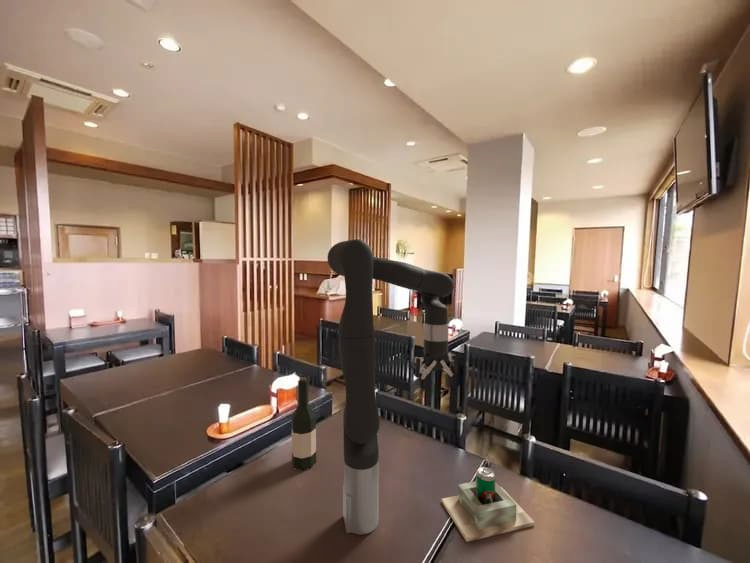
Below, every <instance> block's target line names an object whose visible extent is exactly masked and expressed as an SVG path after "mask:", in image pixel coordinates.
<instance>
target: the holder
mask: <svg viewBox="0 0 750 563" xmlns="http://www.w3.org/2000/svg"><path fill="white" fill-rule="evenodd" d="M457 488H458V489H457V495H454V496H453V495H452V496H449V497H444V498H443V497H442V498H441V500H440V502H441V503H442V505H443V507H444V508H445V510H446V511H447V513H448V515H449V516H450V518H451V519H452V521H453V523H454V525H456V527H457V529H458V530H459V532H460V534H461V535H462V537H463V538H464V540H465V542H466V543H467V542H472V541H475V540H481V539H485V538H489V537H493V536H497V535H501V534H505V533H506V534H507V533H510V532H513V531H517V530H522V529H526V528H530V527H535V521H534V520H533V518H531V516H530V515H528V514H527V512H526V511H525V510H524V509H523V508H522V507H521V506H520V505H519V503H518V502H517V501H516V500H515V499H514V498H512V497H511V495H509V493H508V492H507V491H506V490H505V489H504V488H503V487H502V486H500V485H499V484H498V483H497V482H496V487H495V502H494V503H490V504H485V505H482V504H481V503H480V501H479V500H478V499H477V498H476V480H475V481H470V482H464V483H460V484H458V485H457Z"/></svg>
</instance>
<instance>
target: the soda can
mask: <svg viewBox="0 0 750 563" xmlns="http://www.w3.org/2000/svg"><path fill="white" fill-rule="evenodd" d="M475 475H476V478H475V481H476V498H477V499H478V500H479V501H480V503H481V504H482V505H485V504H490V503H494V502H495V487H496V483H497V482H496V477H497V476H496V474H495V472H494V470H493V469H491V468H489V467H486V466H481V467H479V468H478V469H477V471H476V474H475Z"/></svg>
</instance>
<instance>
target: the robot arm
mask: <svg viewBox="0 0 750 563" xmlns="http://www.w3.org/2000/svg"><path fill="white" fill-rule="evenodd" d="M327 265H328V266H329V268H330V269H331V271H333V272H334V273H335V274H337V275H339V276H342V277H344V286H345V287H344V288H345V300H344V301H345V302H344V306H343V309H342V312H341V316H340V319H339V323H338V334H337V335H338V348H339V357H340V364H341V370H342V375H343V380H344V387H345V405H344V409H343V413H342V417H343V420H342V421H343V478H344V479H343V482H342V517H343V521H344V522H343V523H344V528H345V531H346V534H349V533H352V534H353V535H360V536H361V535H362V536H363V535H367V534H371V533H372V532H374V530H375V529H377V527H378V525H379V521H380V520H379V517H380V516H379V515H380V512H379V509H380V508H379V505H380V504H379V503H380V502H379V501H380V500H379V498H380V497H379V496H380V495H379V494H380V492H379V484H380V483H379V481H380V479H379V478H380V476H379V471H380V470H379V469H380V468H379V460H380V459H379V458H380V456H379V454H380V453H379V442H378V433H379V430H380V426H381V419H380V415H379V414H380V413H379V410H378V404H377V397H376V396H377V395H376V388H375V387H376V386H375V383H376V382H375V380H376V340H375V327H374V326H375V325H374V308H373V306H374V305H373V283H374V282H373V281H374V280H377V281H381V282H384V283H386V284H390V285H394V286H397V287H400V288H404V289H407V290H411V291H418V292H420V296H421V300H422V304H423V309H424V327H423V335H422V336H423V355H422V356H421V357H418V356H414V357H413V364H412V366H413V367H412V374H413V376H414V377H415V378H418V387H419V389H420V390H421V391H422V392H423V391H426V379H425V378H426V377H427V375H429V374H430V373H431V372H432V371H434V372H435V371H442V370H443V371H444V373H445V374H444V376H445V378H444V384H445V385H444V386H445V387H446V388H447V389H451V387H452V385H453V382H452V381H453V376H454V375H457V374H458V373H459V368H458V367H459V364H458V361H459V360H458V356H457V355H456V354H454V353H451V354H448V352H449V327H448V326H449V325H448V323H449V322H448V316H449V315H448V313H449V310H448V307H447V306H446V304H443V303H442V302H441V301H440V298H445V297H448V296H449V295H450V294H451V293H452V292H453V290H454V287H455V285H454V281H453V279H452V277H451V276H450V275H448V274H446V273H443V272H439V271H436V270H435V271H434V270H430V269H424V268H422V267H419V266H417V265H413V264H411V263H407V262H403V261H399V260H398V261H397V260H392V259H386V258H381V257H377V256H375V255H374V254H373V252H372V248H371V247H370V245H369V244H368V242H366V241H365V240H363V239H358V238H357V239H350V240H343V241H339V242H337V243H335V244H334V245H333V246H331V248H330V249H329V251H328V254H327ZM448 362H450V367H449V366H448V365H447V363H448ZM422 363H424V364H423V365H422ZM421 365H422V366H421Z"/></svg>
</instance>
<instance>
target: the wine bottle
mask: <svg viewBox="0 0 750 563" xmlns="http://www.w3.org/2000/svg"><path fill="white" fill-rule="evenodd" d="M297 392H298V394H297V397H298V399H297V400H298V401H297V402H298V403H297V404H298V405H297V406H296V408H295V409H294V411H293V413H292V415H291V463H292V468H293V469H294V468H296V469H295V470H298V469H300V470H299V471H305V470H304V469H306V470H308V469H307V468H310V469H312V468H313V467H314V466H315V465H316V464H317V420H316V418H317V416H316V414H315V413H314V411H313V409H312V407H311V406H310V404H309V380H308V378H307V377H300V378H299V379H298V380H297ZM314 464H315V465H314ZM313 465H314V466H313ZM312 466H313V467H312ZM311 467H312V468H311Z"/></svg>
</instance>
